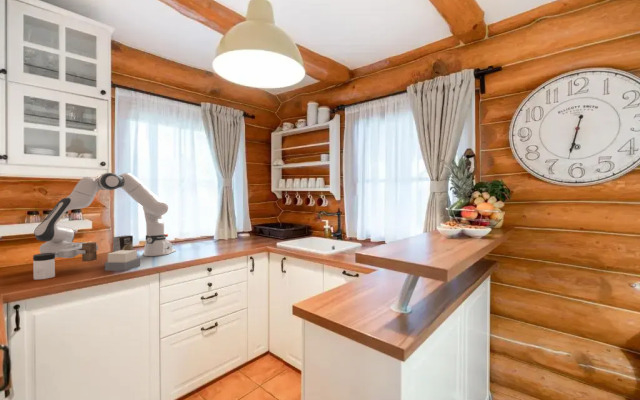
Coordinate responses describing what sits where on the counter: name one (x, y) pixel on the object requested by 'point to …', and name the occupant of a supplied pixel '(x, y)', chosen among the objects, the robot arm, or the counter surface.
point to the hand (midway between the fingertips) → (90, 250)
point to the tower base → (122, 265)
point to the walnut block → (89, 251)
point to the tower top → (122, 256)
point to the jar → (44, 265)
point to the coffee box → (122, 243)
